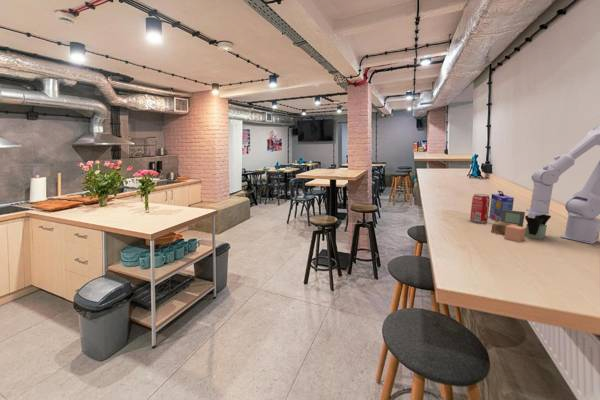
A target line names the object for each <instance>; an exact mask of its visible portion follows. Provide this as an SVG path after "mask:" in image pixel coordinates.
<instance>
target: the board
mask: <svg viewBox="0 0 600 400" xmlns="http://www.w3.org/2000/svg"><path fill="white" fill-rule="evenodd" d="M525 214H526V211H519V210H504V209H503V211H502V218H501V222H506V223H512V224H517V225H518V226H521V227H524V221H525V216H526V215H525Z"/></svg>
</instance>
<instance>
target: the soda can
mask: <svg viewBox="0 0 600 400" xmlns="http://www.w3.org/2000/svg"><path fill="white" fill-rule="evenodd" d="M490 205H491V198H490V195H489V194H485V193H474V194H473V196H472V201H471V208H470V221H471V222H473V223H478V224H484V223H487V222H488V218H489V213H490Z"/></svg>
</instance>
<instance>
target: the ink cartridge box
mask: <svg viewBox="0 0 600 400" xmlns="http://www.w3.org/2000/svg"><path fill="white" fill-rule="evenodd" d="M497 192H498V193H492V194H491V198H490V205H489V213H488V218H490V219H491V220H494V221H496V222H498V221H501V218H502V211H503V209H504V210H513V209H514V201H515V198H514V197H513V196H509V195H507V194H504V192H503V191H501V190H497ZM513 211H514V210H513Z"/></svg>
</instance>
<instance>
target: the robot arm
mask: <svg viewBox="0 0 600 400" xmlns="http://www.w3.org/2000/svg"><path fill="white" fill-rule="evenodd" d="M595 146H598V147H600V124H599V125H596V126H594V127H593V128H592V129H591V130H590V131H588V132H587V133H586V136H584V137H583V138H582V139H581V140H580V141H579V142H577V144H575V145H574V146H573V147H571V149H570V150H569V151H568V152H567V153H565V154H564V153H563V154H562V153H561V154H559V155H555V156H553V160H551V161H550V162H548V163H547V164H545V165H543V168H539V169H537V170H535V172H533V174H532V175H531V180H532V182H533V190H532V196H531V200H530V201H531V202H530V207H529V208H526V211H527V212H528V213H527V215H525V216H524V220H526V222H527V223H526V224H528V230H529V234H533V235H536V234H537V231H538V228H539V226H540V224H543V225H547V222H548V221H549V220H550V219H551V217H552V216H551V215H549V214H550V206H551V199H552V193H553V189H554V188H553V187H554V184H555V183H558V181H559V180H560V176H561V175H562V174H564V173H565V172H566V171H568V170H569V169H571V167H572V166H575V160H576V159H577V158H579V157H580V156H582V155H584V154H585V153H586V152H588V151H589V150H591V149H592V148H594V147H595ZM564 205H565V207H564V208H565V210H566V211H567V221H566V226H565V231H564V234H562V235H560V238H563V239H567V240H571V241H572V240H573V241H577V242H582V243H585V244H586V243H587V244H592V245H593V244H595V243H597V242H598V241H599V238H600V219H596V218H597V217H598V216H599V215H600V160H598V163H597V164H596V165H595V168H594V169H593V171H592V172H591V174H590V175H589V177H588V179H587V180H586V182H585V184H584V186H583V187H582V189H581V190H579V191H578V192H576V193H573V196H572V197H571V198H569V199H568V200H567V201H566V202H565V204H564ZM526 211H525V212H526Z"/></svg>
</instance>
